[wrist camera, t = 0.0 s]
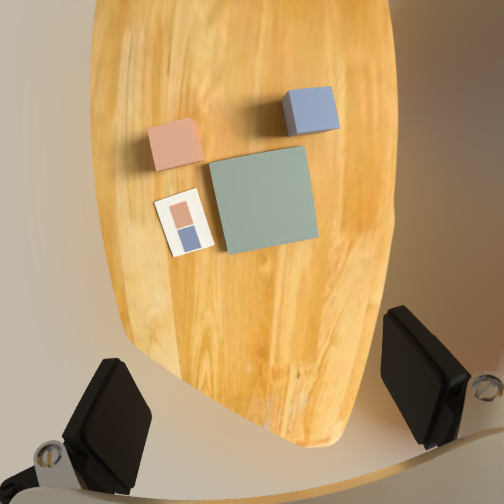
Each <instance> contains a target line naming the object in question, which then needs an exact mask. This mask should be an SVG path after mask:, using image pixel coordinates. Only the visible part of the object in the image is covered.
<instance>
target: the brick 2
mask: <svg viewBox="0 0 504 504" xmlns="http://www.w3.org/2000/svg"><path fill="white" fill-rule="evenodd" d="M281 102H282V107H283V112H284V116H285V121H286V126H287V132H288V137H290V136H297V135H304V134H312V133H319V132H326V131H330V130H334V129H338V128H340V126H339V120H338V115H337V110H336V105H335V100H334V96H333V91H332V87H331V86H330V87H317V88H307V89H297V90H289V91H288V92H287V93H286V95H285V96H284V97H283V98H282V100H281Z"/></svg>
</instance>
